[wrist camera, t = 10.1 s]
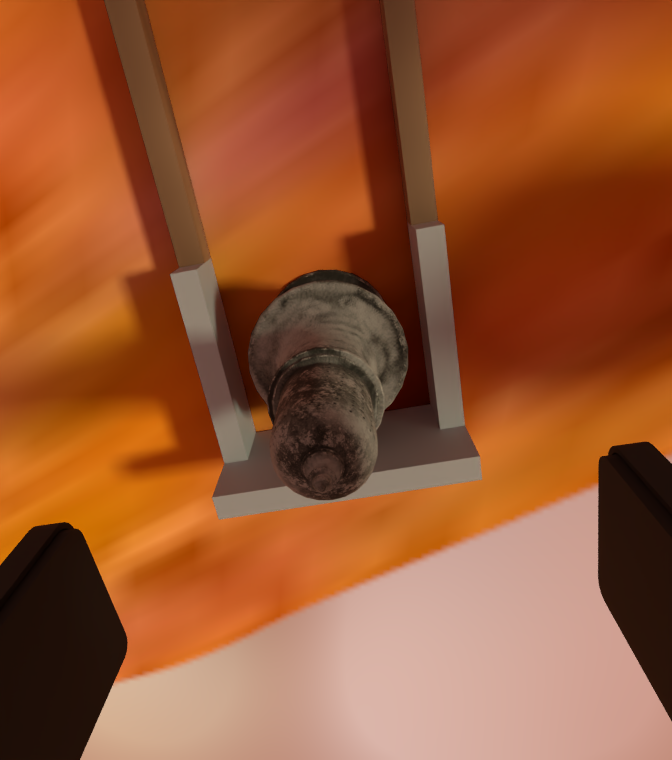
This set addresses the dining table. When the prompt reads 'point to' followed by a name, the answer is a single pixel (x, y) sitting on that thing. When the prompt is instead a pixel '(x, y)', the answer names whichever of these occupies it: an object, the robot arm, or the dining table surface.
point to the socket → (398, 427)
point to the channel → (167, 149)
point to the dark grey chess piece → (327, 379)
